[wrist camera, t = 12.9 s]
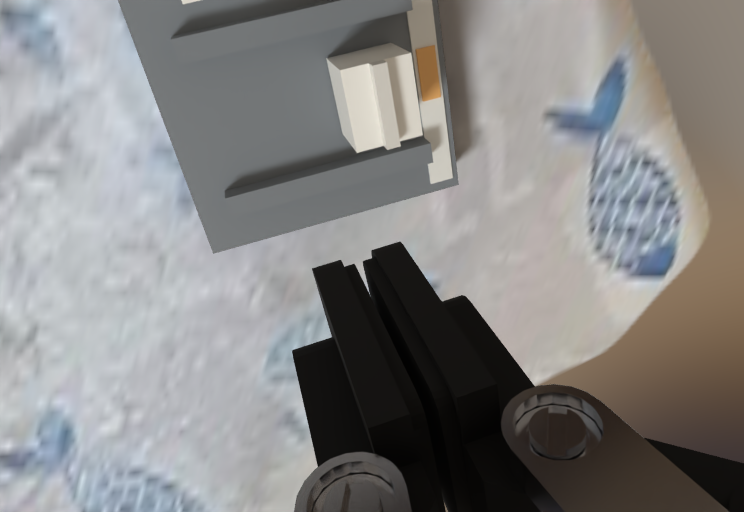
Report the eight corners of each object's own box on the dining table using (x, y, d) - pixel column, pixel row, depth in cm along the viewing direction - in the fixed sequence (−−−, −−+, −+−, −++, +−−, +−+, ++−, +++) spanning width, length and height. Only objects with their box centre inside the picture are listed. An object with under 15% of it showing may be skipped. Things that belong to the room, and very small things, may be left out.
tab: (326, 58, 25) (343, 72, 22) (390, 42, 26) (415, 54, 23) (342, 133, 27) (360, 157, 24) (402, 117, 27) (427, 139, 24)
